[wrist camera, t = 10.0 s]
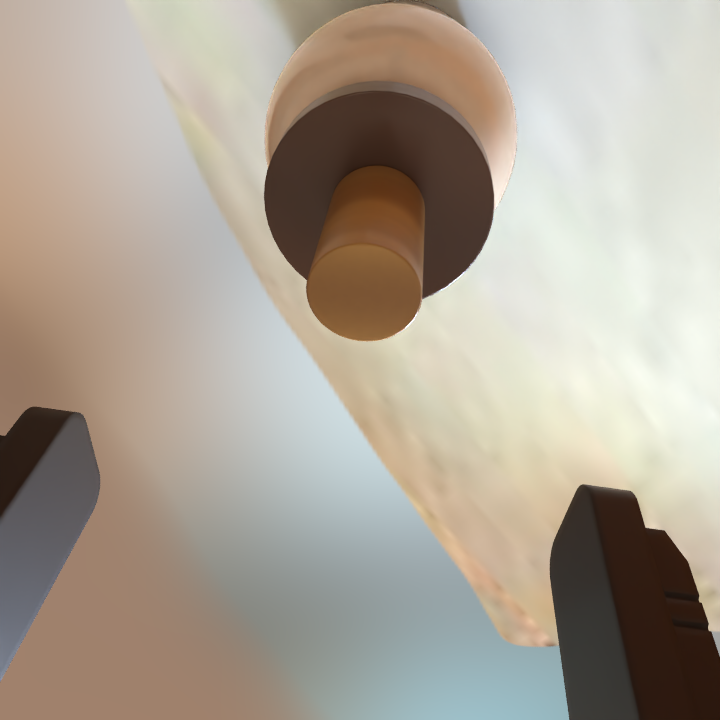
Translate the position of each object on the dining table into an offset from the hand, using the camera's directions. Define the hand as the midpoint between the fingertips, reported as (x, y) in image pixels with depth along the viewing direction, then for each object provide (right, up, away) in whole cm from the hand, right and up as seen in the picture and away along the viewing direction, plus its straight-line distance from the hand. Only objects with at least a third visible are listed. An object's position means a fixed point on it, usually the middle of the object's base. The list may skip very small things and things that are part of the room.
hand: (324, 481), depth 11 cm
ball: (+2, +10, +13) cm, 16 cm away
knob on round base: (+1, +7, +9) cm, 12 cm away
